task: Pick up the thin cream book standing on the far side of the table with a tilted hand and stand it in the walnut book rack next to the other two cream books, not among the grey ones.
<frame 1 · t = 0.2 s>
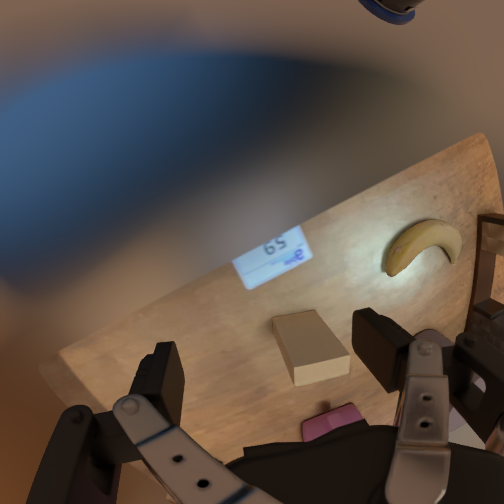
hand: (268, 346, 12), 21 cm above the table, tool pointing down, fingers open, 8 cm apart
cream book: (294, 322, 35), on the table
fruit: (420, 250, 36), on the table
grey upright cylinder: (418, 354, 40), on the table
book rack: (481, 279, 39), on the table
teapot: (331, 430, 41), on the table
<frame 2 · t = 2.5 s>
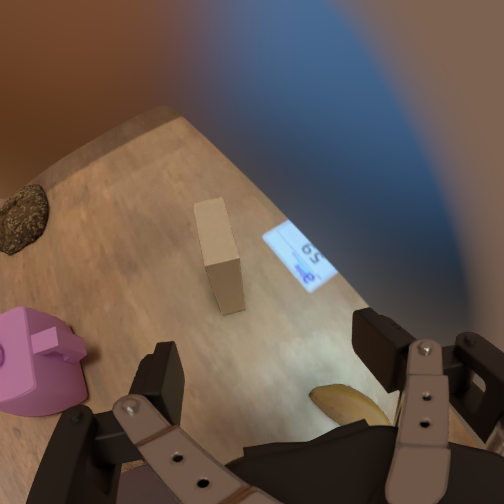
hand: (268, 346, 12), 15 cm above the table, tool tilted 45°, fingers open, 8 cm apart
cream book: (227, 288, 30), on the table
bread roll: (23, 224, 35), on the table
fruit: (346, 449, 21), on the table
teapot: (46, 374, 24), on the table
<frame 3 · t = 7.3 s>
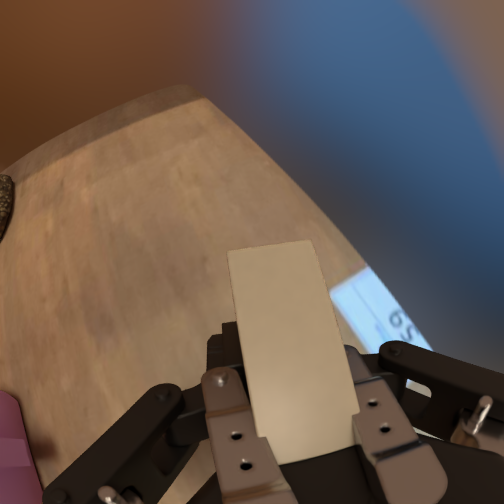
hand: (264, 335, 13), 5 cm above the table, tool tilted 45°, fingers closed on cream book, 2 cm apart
cream book: (268, 386, 16), on the table, touching gripper
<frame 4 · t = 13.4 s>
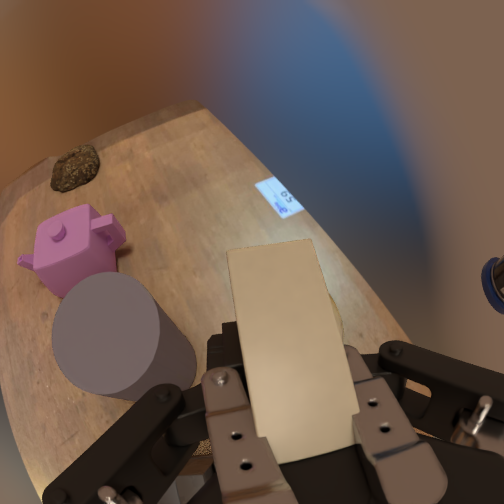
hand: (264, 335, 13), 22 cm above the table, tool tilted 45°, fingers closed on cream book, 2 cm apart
cream book: (268, 386, 16), point 17 cm above the table, touching gripper
bread roll: (75, 173, 51), on the table
grey upright cylinder: (157, 364, 32), on the table
book rack: (266, 469, 25), on the table
teapot: (85, 267, 39), on the table
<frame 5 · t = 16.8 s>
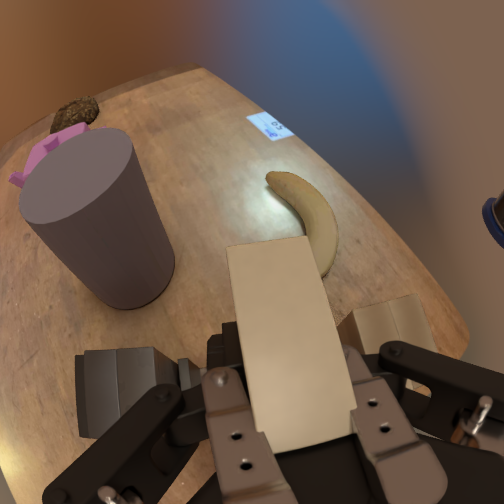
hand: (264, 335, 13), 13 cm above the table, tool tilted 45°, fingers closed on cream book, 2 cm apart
cream book: (267, 385, 16), point 9 cm above the table, touching gripper
bread roll: (75, 121, 50), on the table
fruit: (293, 228, 33), on the table
grey upright cylinder: (132, 268, 30), on the table
book rack: (251, 394, 23), on the table
teapot: (74, 189, 37), on the table
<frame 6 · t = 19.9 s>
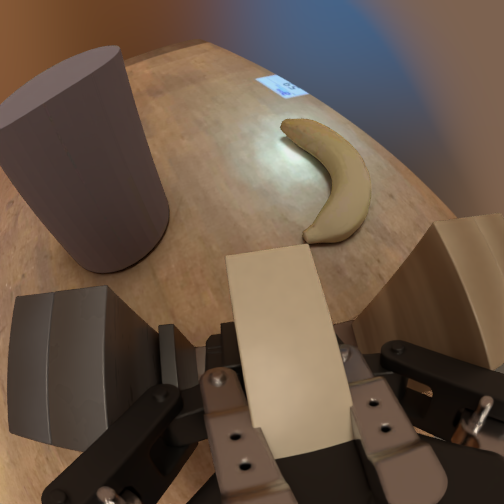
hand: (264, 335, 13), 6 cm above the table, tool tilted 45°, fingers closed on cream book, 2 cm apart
cream book: (268, 386, 16), point 1 cm above the table, touching book rack, gripper
fruit: (315, 179, 26), on the table
grey upright cylinder: (118, 226, 24), on the table
book rack: (266, 385, 17), on the table
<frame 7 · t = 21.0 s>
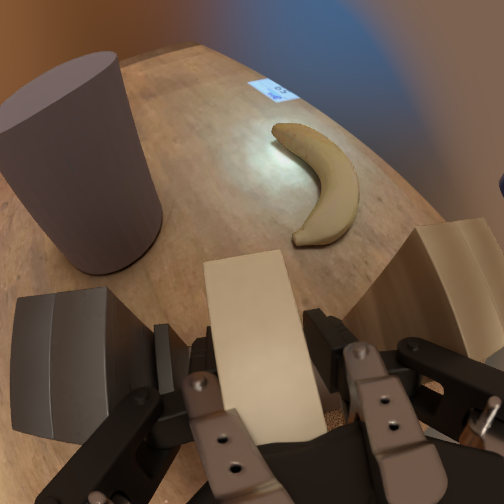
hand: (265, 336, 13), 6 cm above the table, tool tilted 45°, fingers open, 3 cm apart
cream book: (259, 383, 16), point 1 cm above the table, touching book rack, gripper
fruit: (305, 183, 27), on the table
grey upright cylinder: (112, 228, 24), on the table
book rack: (257, 383, 17), on the table
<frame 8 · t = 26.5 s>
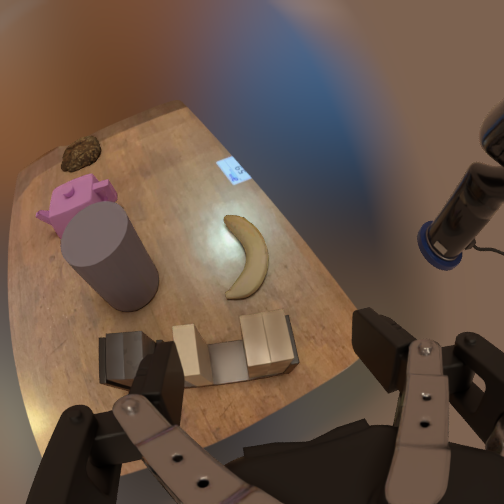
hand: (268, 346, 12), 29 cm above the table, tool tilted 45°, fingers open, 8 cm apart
cream book: (202, 366, 37), point 1 cm above the table, touching book rack
bread roll: (81, 157, 65), on the table
fruit: (240, 257, 48), on the table
grey upright cylinder: (131, 284, 45), on the table
book rack: (202, 366, 38), on the table
teapot: (86, 222, 52), on the table
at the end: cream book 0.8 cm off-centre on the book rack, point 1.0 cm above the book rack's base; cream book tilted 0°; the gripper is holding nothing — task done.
